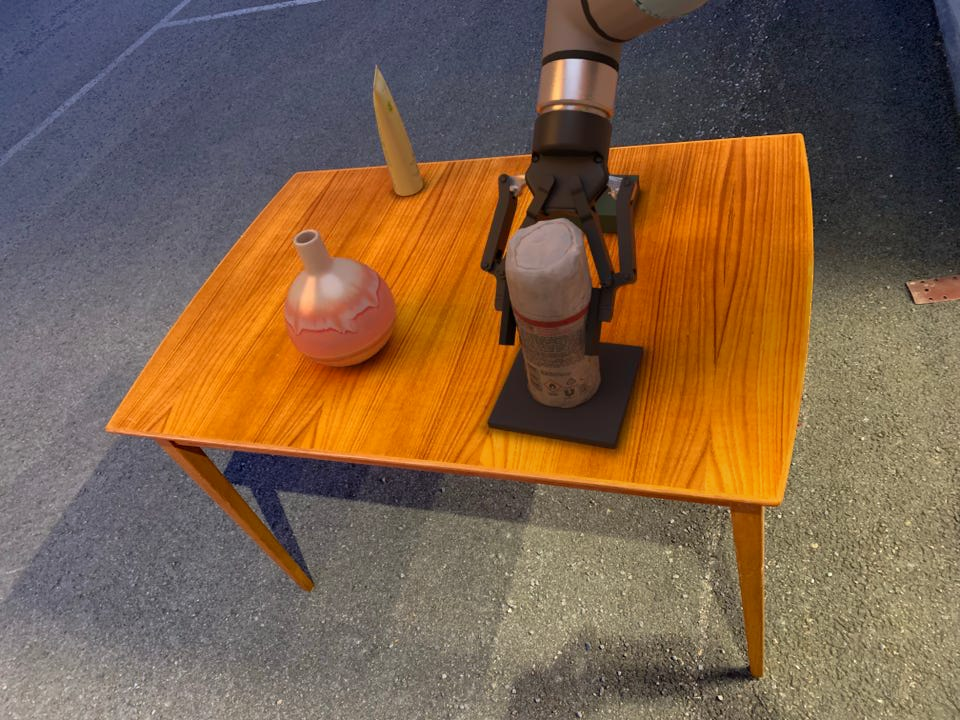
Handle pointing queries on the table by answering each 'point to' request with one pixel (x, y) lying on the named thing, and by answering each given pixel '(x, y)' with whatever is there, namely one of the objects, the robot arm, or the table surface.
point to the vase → (337, 306)
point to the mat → (576, 424)
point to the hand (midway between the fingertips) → (547, 349)
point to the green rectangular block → (603, 209)
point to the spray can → (553, 311)
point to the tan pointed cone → (395, 141)
